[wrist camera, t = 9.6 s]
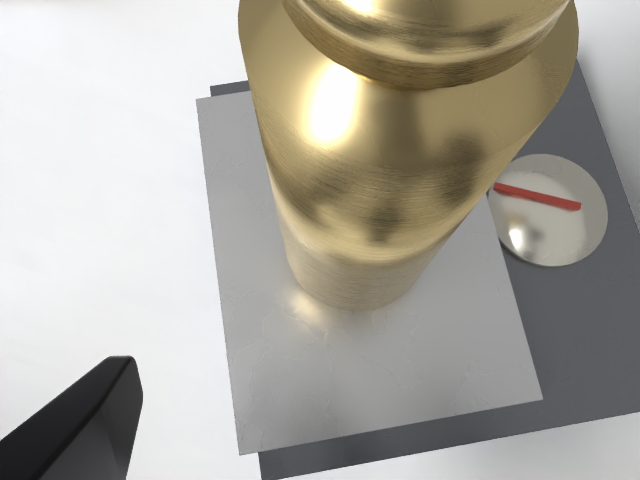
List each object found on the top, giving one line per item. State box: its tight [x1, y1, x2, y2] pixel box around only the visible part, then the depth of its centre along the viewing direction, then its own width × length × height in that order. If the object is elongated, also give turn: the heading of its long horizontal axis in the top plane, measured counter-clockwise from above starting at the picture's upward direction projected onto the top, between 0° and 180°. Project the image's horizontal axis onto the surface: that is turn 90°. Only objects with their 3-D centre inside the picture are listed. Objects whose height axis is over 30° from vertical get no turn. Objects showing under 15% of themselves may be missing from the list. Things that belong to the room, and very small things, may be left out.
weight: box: [238, 0, 579, 311], centre depth 12 cm, size 5×5×14 cm
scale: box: [196, 58, 640, 480], centre depth 21 cm, size 15×16×3 cm
